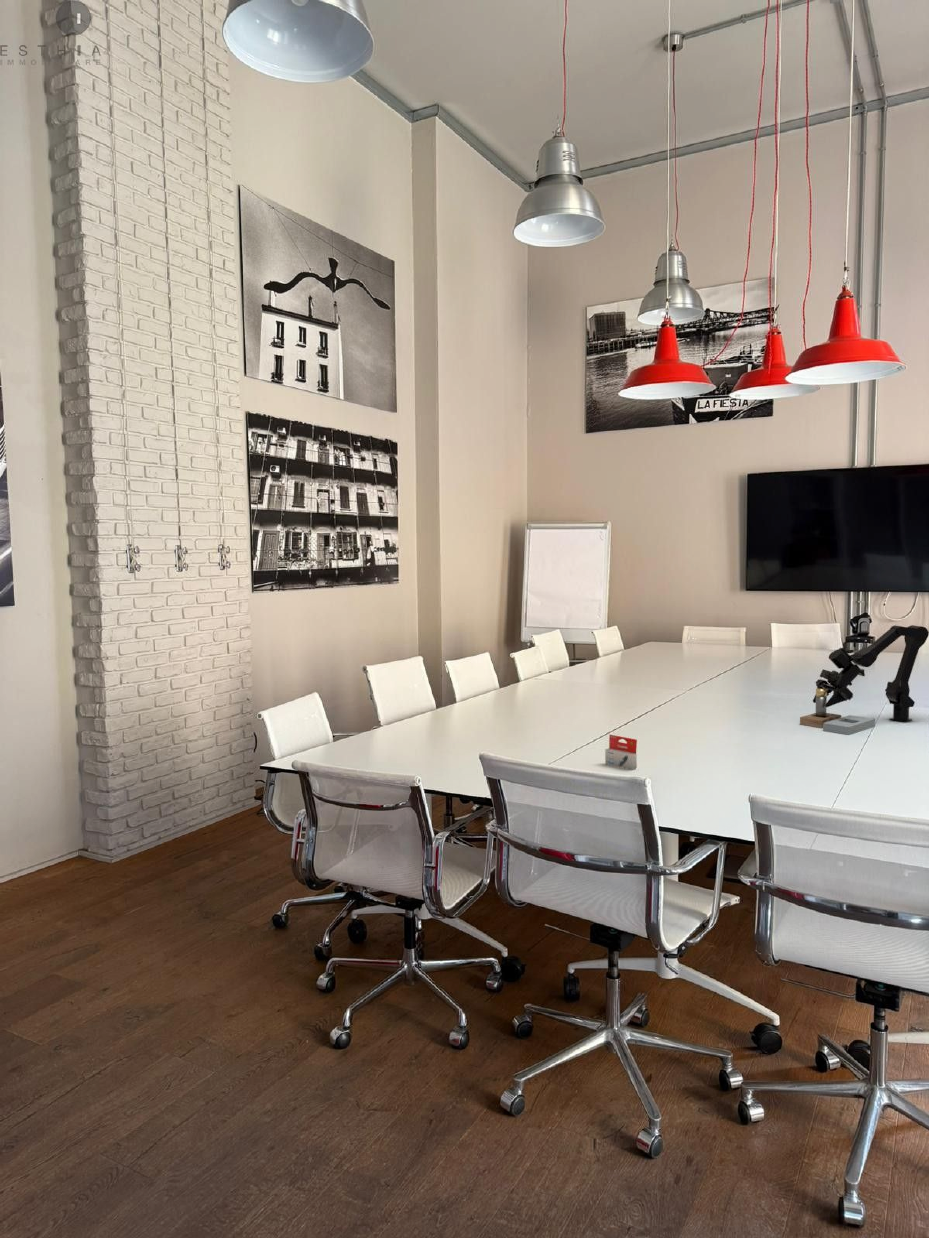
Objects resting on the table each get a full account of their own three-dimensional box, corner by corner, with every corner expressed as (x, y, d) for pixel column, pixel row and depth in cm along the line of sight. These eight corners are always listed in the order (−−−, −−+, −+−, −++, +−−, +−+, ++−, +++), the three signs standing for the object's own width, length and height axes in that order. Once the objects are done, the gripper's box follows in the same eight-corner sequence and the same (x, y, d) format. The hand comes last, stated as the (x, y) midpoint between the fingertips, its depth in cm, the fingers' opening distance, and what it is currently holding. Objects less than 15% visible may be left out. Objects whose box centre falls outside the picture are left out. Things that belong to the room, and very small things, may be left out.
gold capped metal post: (818, 721, 333) (819, 687, 332) (827, 723, 330) (828, 689, 329) (813, 723, 331) (814, 689, 330) (823, 724, 328) (823, 690, 327)
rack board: (849, 722, 332) (849, 715, 331) (874, 726, 324) (875, 718, 324) (822, 730, 318) (823, 723, 317) (848, 734, 310) (848, 727, 310)
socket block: (819, 718, 339) (819, 711, 339) (841, 722, 332) (841, 714, 332) (799, 724, 329) (800, 717, 329) (821, 728, 322) (821, 720, 322)
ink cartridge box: (632, 770, 265) (633, 740, 264) (604, 764, 273) (604, 735, 272) (637, 768, 267) (637, 739, 266) (609, 762, 275) (609, 734, 274)
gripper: (820, 659, 338) (794, 686, 338) (846, 666, 320) (819, 694, 319) (837, 678, 340) (812, 705, 339) (865, 685, 321) (837, 714, 321)
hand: (819, 704), depth 330 cm, fingers open, 9 cm apart
